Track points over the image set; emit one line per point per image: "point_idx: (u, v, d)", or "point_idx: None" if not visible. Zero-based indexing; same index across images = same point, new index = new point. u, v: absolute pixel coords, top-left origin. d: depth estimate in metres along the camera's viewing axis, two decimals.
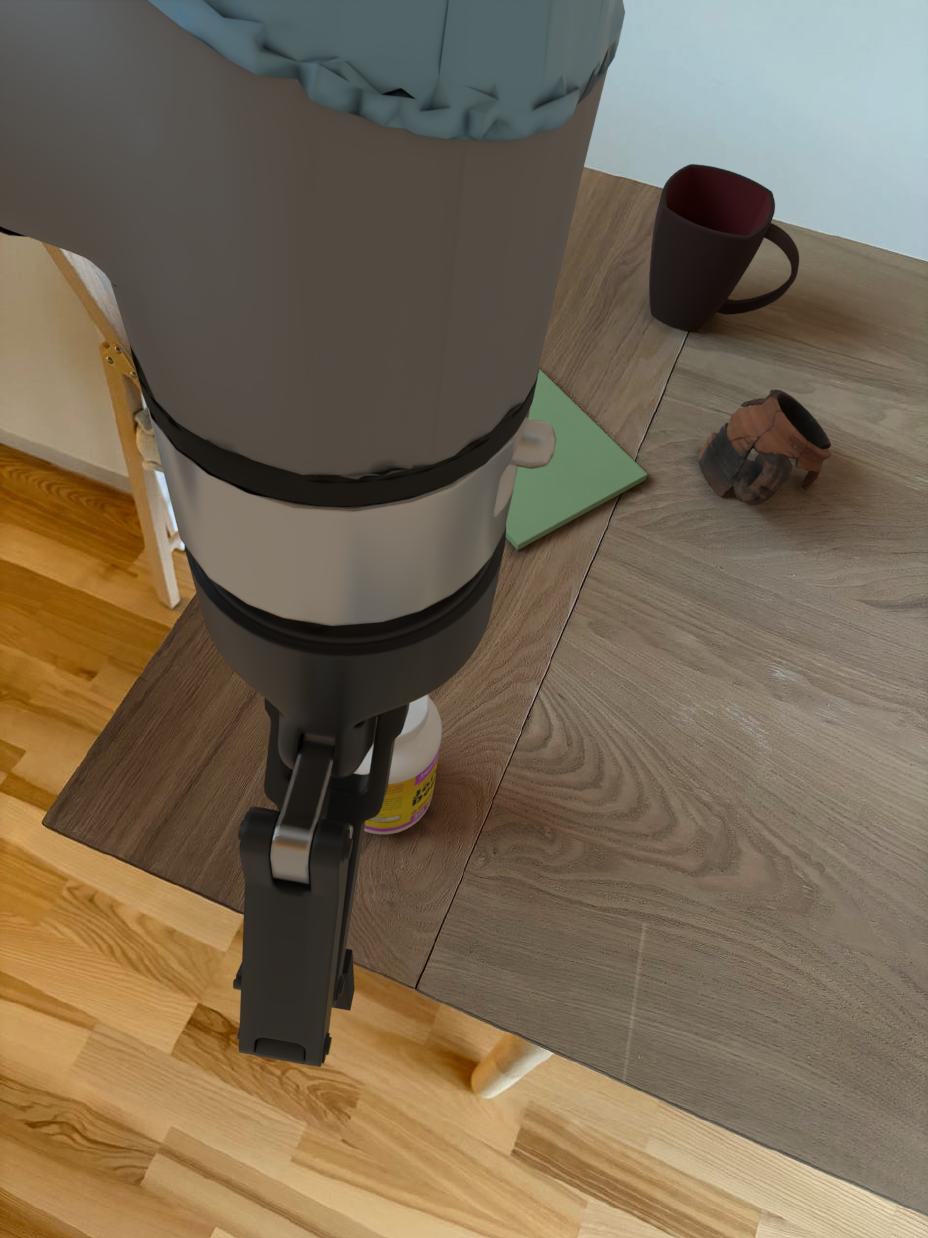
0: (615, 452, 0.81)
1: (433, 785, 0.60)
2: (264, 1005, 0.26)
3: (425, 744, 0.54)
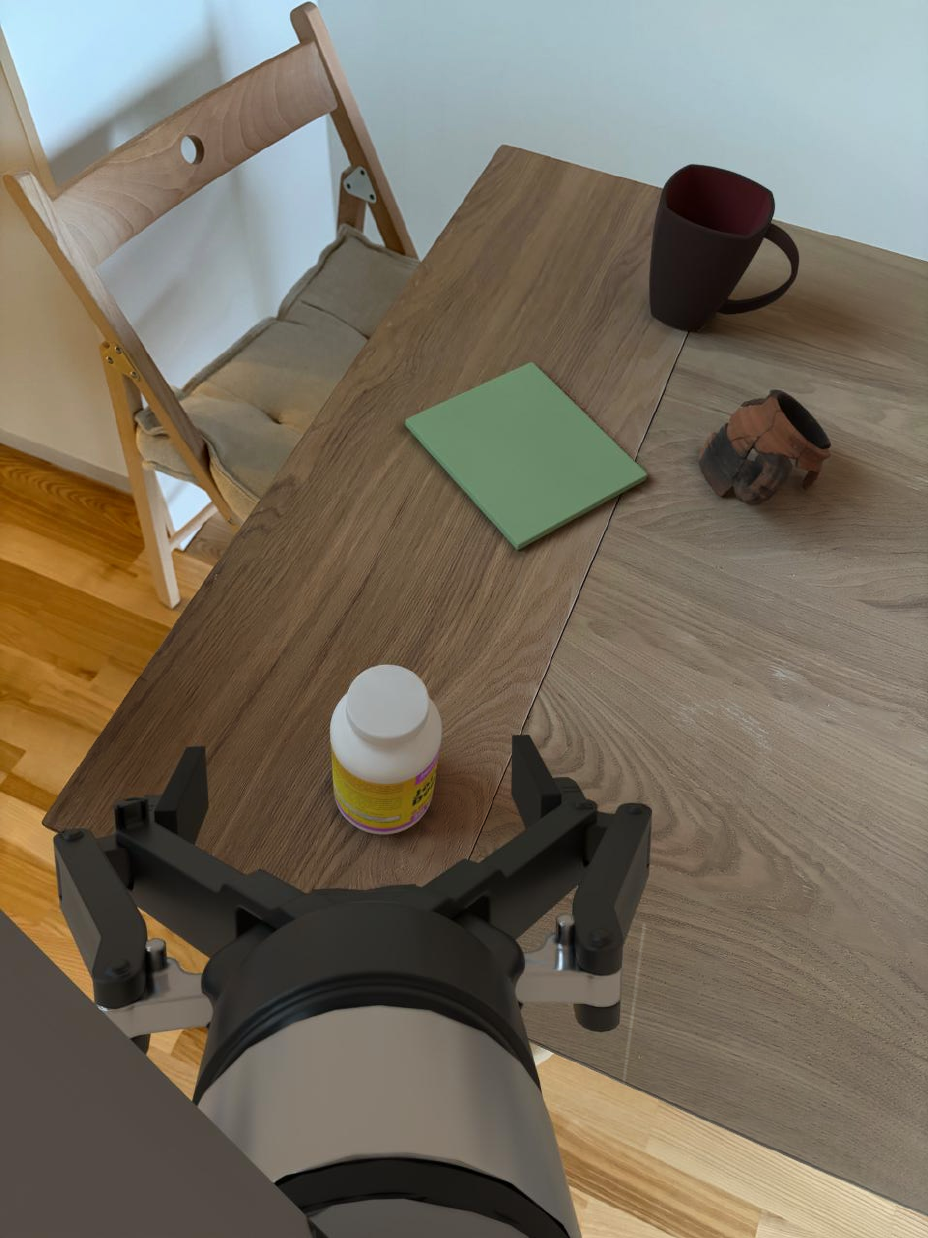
0: (615, 452, 0.81)
1: (433, 785, 0.60)
2: (68, 886, 0.29)
3: (425, 744, 0.54)
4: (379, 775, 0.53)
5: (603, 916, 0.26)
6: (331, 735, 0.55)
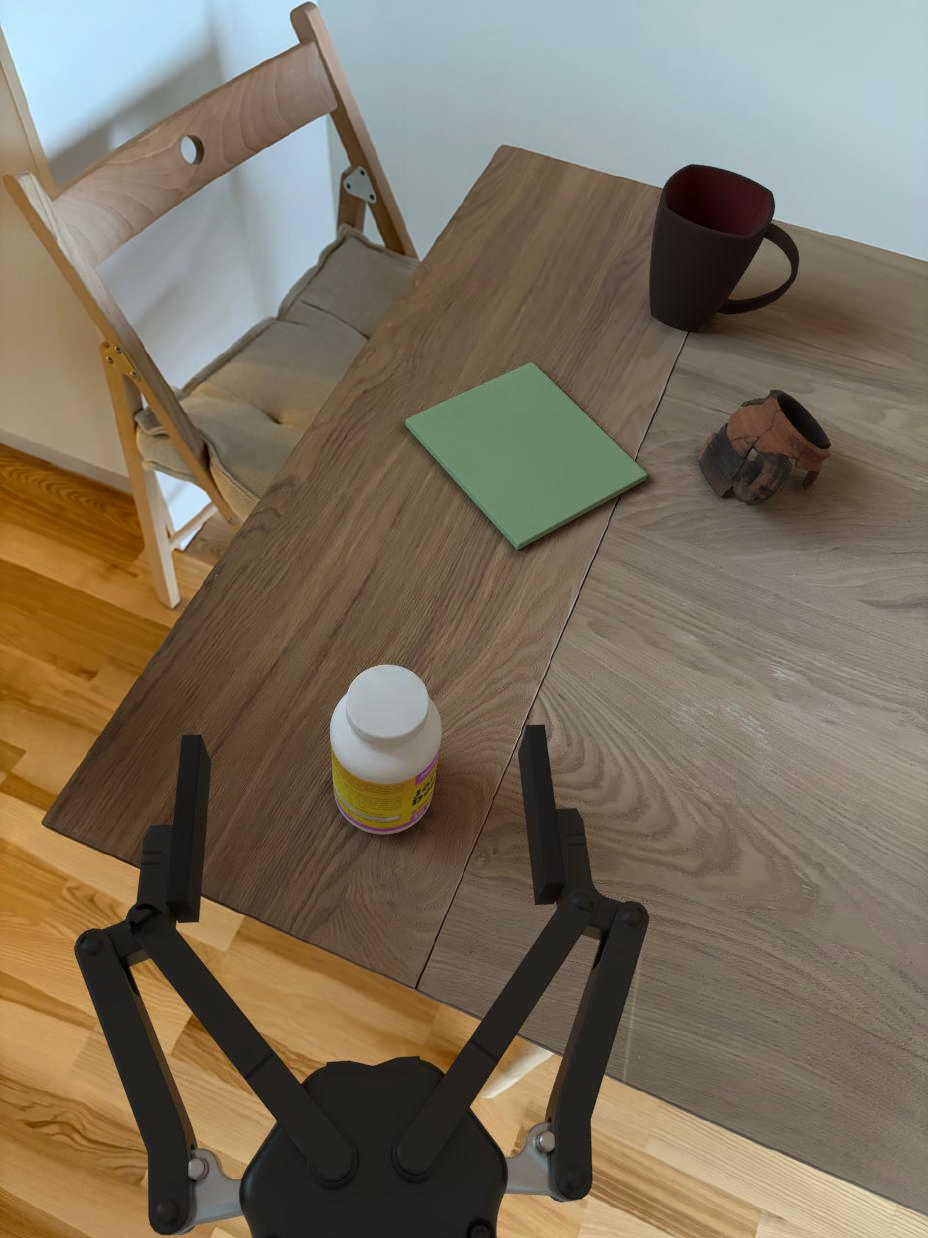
0: (615, 452, 0.81)
1: (433, 785, 0.60)
2: None
3: (425, 744, 0.54)
4: (379, 775, 0.53)
5: (580, 1139, 0.30)
6: (331, 735, 0.55)
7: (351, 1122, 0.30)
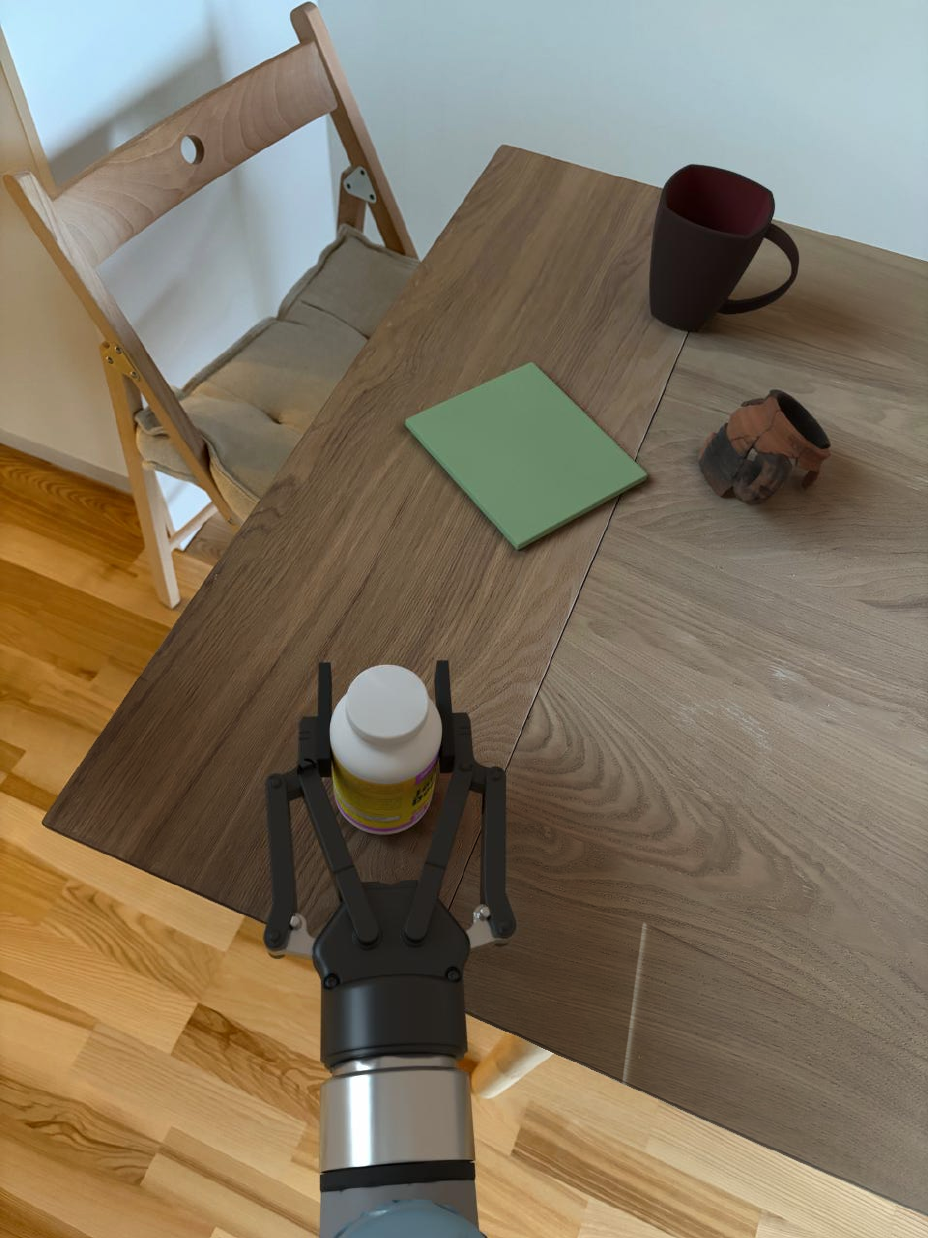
0: (615, 452, 0.81)
1: (433, 785, 0.60)
2: None
3: (425, 744, 0.54)
4: (379, 775, 0.53)
5: (502, 904, 0.51)
6: (331, 735, 0.55)
7: (377, 915, 0.51)
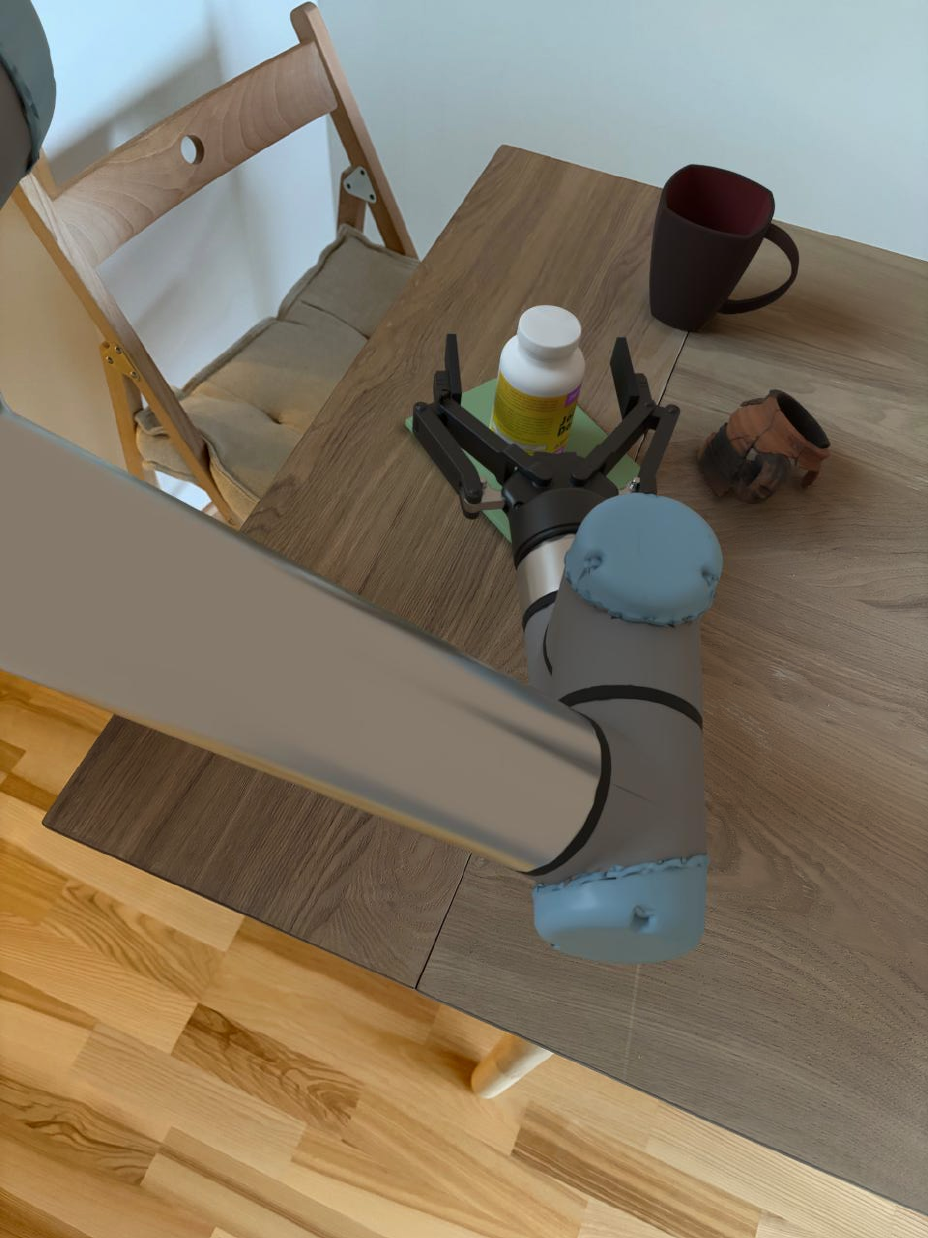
0: None
1: None
2: (428, 436, 0.69)
3: (575, 367, 0.71)
4: (542, 387, 0.70)
5: (651, 479, 0.67)
6: (502, 363, 0.72)
7: None
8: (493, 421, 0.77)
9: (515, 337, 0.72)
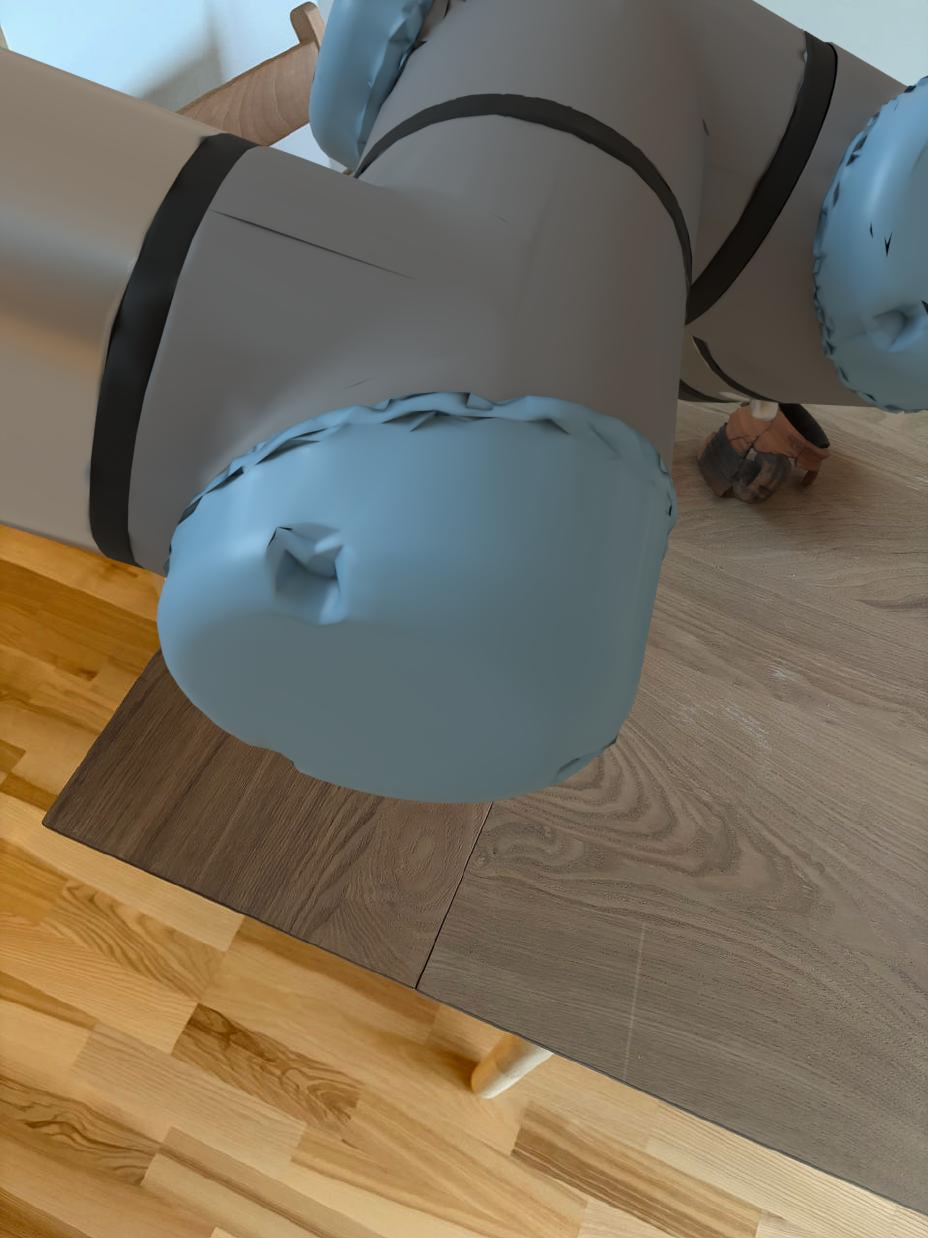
0: None
1: None
2: None
3: None
4: None
5: None
6: None
7: None
8: None
9: None
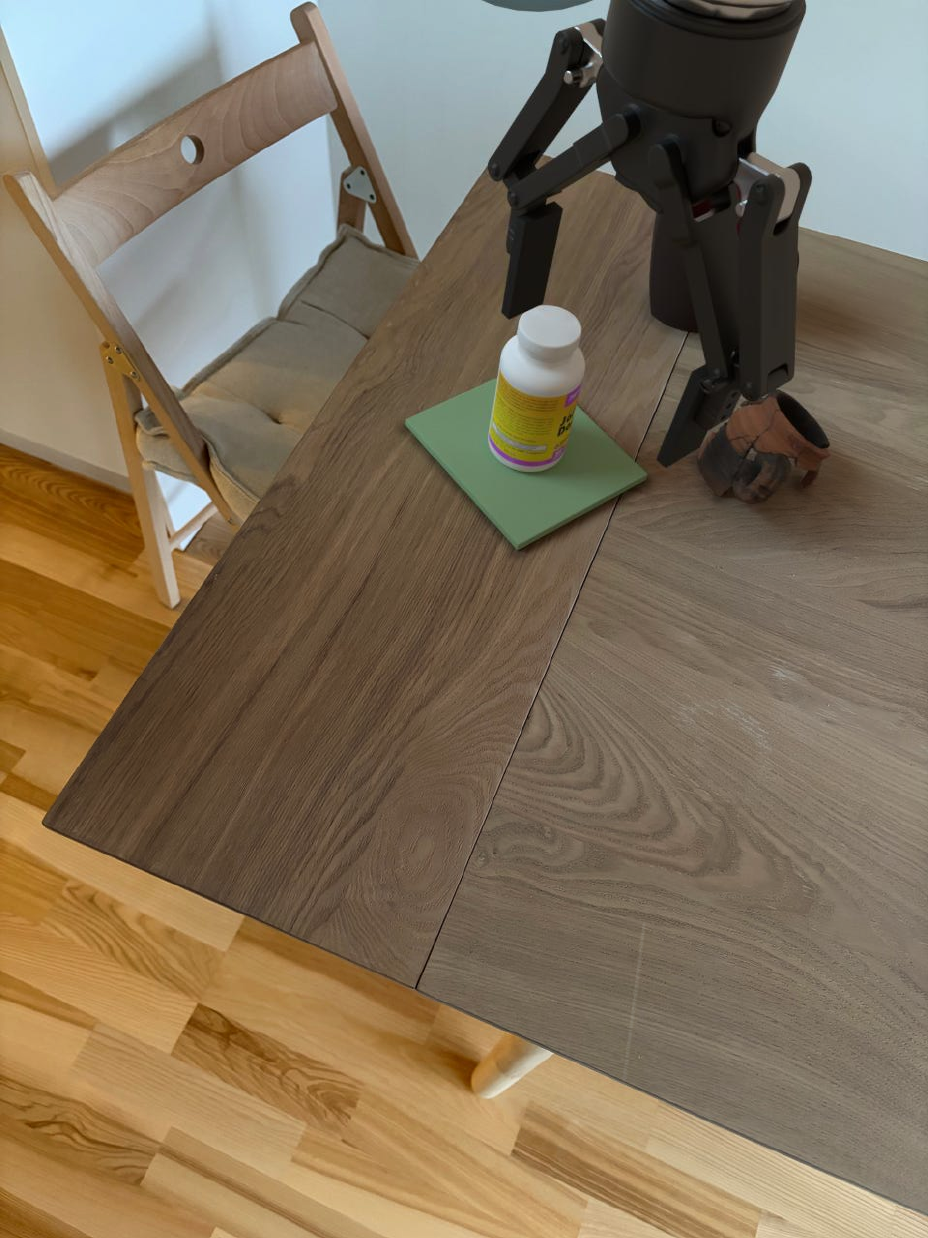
0: (615, 452, 0.81)
1: None
2: None
3: (575, 367, 0.71)
4: (542, 387, 0.70)
5: None
6: (502, 363, 0.72)
7: None
8: (493, 421, 0.77)
9: (515, 337, 0.72)
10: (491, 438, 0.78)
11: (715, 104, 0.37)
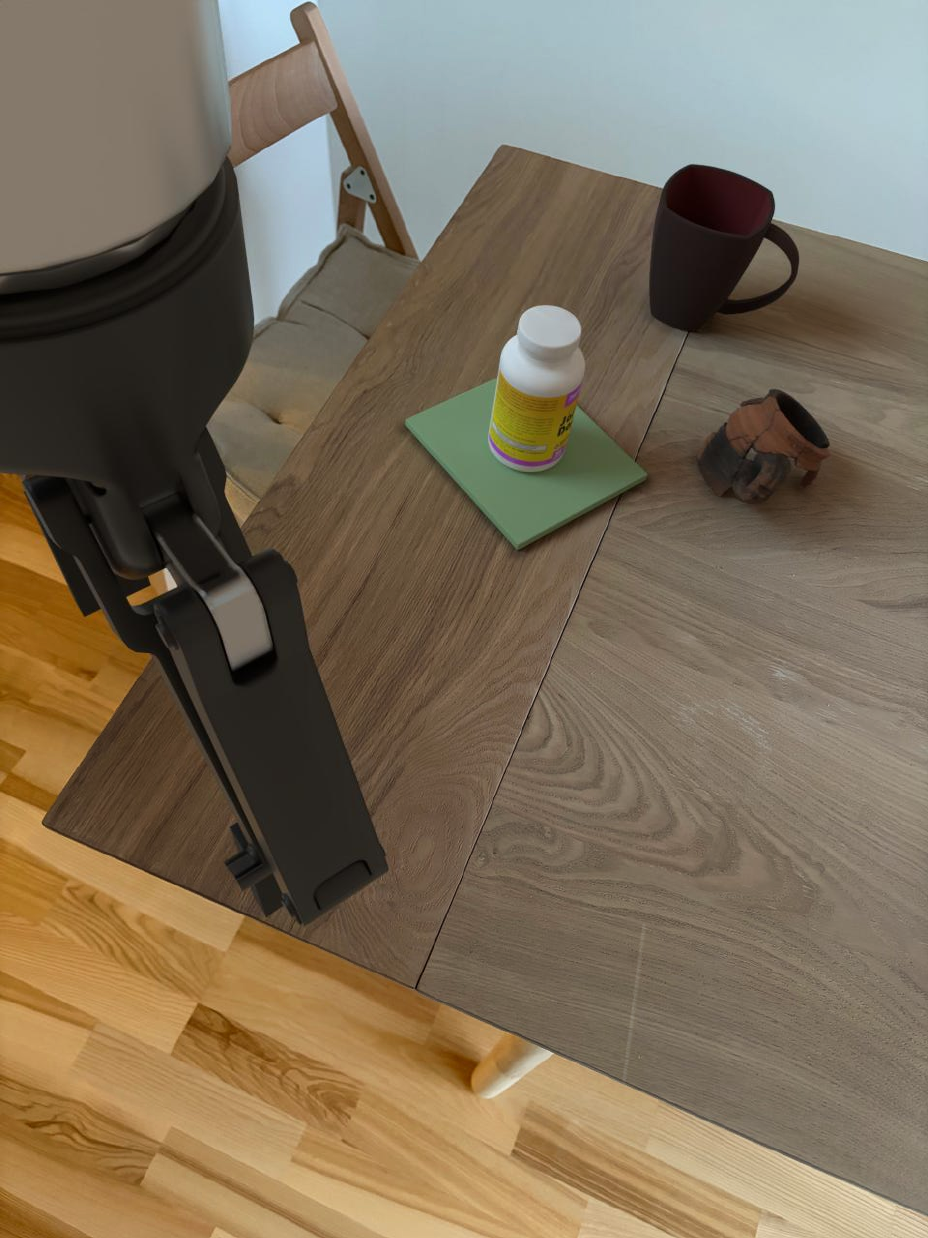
0: (615, 452, 0.81)
1: None
2: None
3: (575, 367, 0.71)
4: (542, 387, 0.70)
5: None
6: (502, 363, 0.72)
7: None
8: (493, 421, 0.77)
9: (515, 337, 0.72)
10: (491, 438, 0.78)
11: (23, 455, 0.16)
